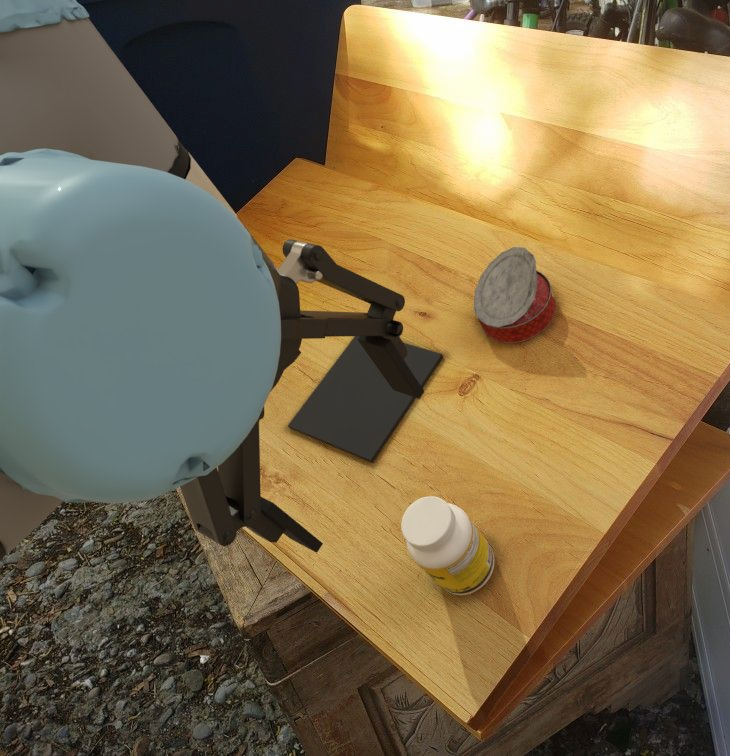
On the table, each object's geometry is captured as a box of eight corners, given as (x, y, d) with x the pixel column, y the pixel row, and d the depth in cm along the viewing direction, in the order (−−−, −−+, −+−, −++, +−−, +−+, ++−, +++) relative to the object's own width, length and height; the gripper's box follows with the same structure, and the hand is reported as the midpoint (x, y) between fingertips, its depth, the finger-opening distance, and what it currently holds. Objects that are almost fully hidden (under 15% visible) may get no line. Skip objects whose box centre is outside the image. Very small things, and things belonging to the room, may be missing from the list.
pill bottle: (425, 565, 69) (379, 519, 60) (472, 524, 70) (434, 474, 61) (459, 611, 65) (415, 569, 56) (508, 567, 66) (472, 519, 58)
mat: (372, 463, 78) (370, 460, 78) (289, 428, 85) (287, 425, 85) (443, 356, 85) (442, 353, 84) (361, 332, 92) (359, 329, 91)
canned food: (556, 351, 86) (542, 336, 76) (480, 347, 89) (456, 333, 79) (563, 264, 87) (549, 239, 78) (488, 263, 90) (465, 238, 80)
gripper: (278, 108, 42) (410, 327, 58) (-52, 437, 31) (221, 592, 48) (368, 115, 38) (482, 347, 54) (28, 490, 28) (294, 639, 44)
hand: (360, 462), depth 51 cm, fingers open, 13 cm apart
